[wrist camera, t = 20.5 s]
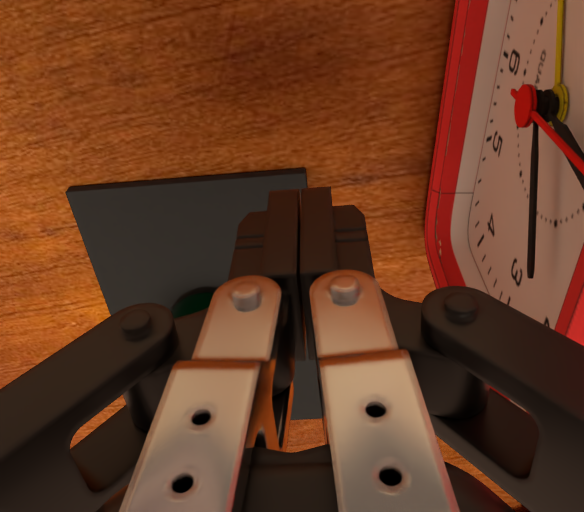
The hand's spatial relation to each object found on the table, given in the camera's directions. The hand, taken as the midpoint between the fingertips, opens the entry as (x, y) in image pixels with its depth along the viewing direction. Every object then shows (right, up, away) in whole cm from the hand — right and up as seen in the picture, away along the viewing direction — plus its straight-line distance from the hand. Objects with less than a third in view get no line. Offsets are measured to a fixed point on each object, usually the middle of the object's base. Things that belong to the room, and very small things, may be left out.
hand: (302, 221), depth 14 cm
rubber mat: (-5, -4, +19) cm, 20 cm away
